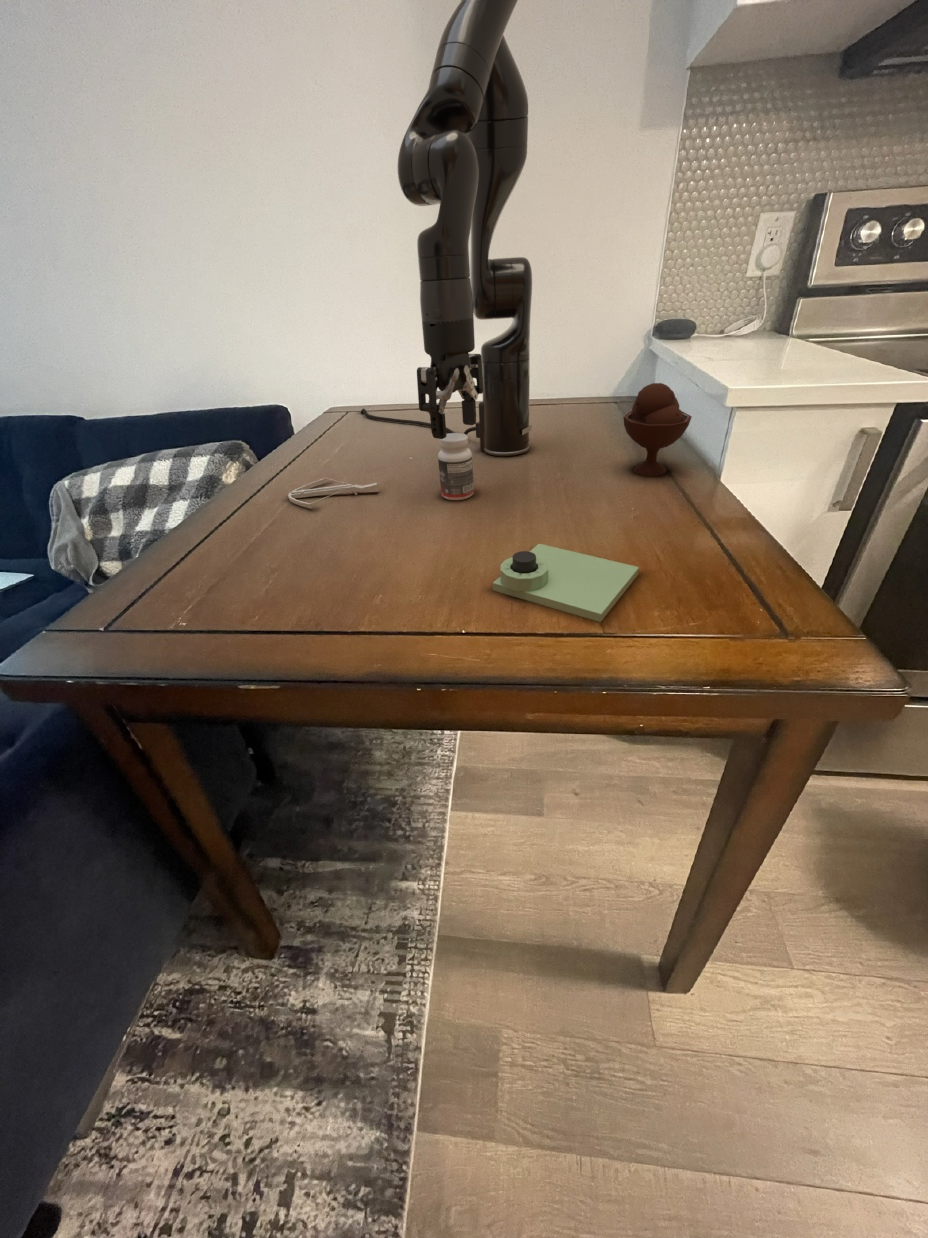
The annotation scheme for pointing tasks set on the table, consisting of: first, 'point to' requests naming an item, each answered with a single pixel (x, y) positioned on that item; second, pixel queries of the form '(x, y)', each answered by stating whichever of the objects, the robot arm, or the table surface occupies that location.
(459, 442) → the pill bottle
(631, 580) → the scale
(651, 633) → the table surface
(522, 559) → the button
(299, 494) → the crossbow
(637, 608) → the table surface
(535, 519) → the table surface
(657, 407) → the ice cream bowl
